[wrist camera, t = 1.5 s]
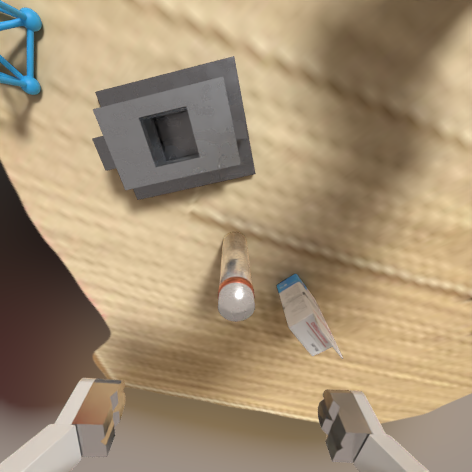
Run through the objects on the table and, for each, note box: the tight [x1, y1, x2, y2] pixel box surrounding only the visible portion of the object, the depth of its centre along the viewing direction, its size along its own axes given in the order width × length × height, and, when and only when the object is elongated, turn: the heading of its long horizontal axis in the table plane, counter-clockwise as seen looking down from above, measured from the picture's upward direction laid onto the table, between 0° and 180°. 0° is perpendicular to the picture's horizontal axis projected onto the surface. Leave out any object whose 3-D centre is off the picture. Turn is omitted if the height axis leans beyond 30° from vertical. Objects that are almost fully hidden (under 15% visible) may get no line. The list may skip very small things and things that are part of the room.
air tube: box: [218, 232, 255, 321], centre depth 38 cm, size 5×5×18 cm
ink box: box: [277, 274, 343, 359], centre depth 45 cm, size 8×5×15 cm, turn 36°
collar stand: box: [92, 56, 255, 200], centre depth 35 cm, size 20×16×8 cm
